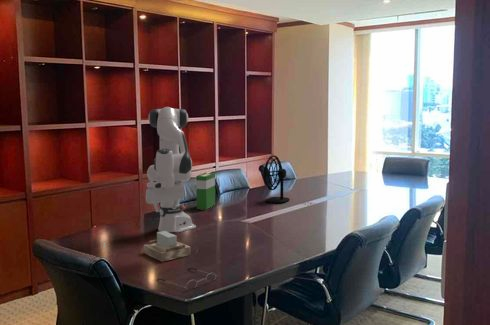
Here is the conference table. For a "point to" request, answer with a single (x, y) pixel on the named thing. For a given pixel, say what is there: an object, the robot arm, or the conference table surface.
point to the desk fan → (281, 175)
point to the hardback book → (205, 190)
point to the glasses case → (166, 239)
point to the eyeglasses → (191, 280)
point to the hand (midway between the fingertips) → (166, 210)
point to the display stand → (166, 251)
